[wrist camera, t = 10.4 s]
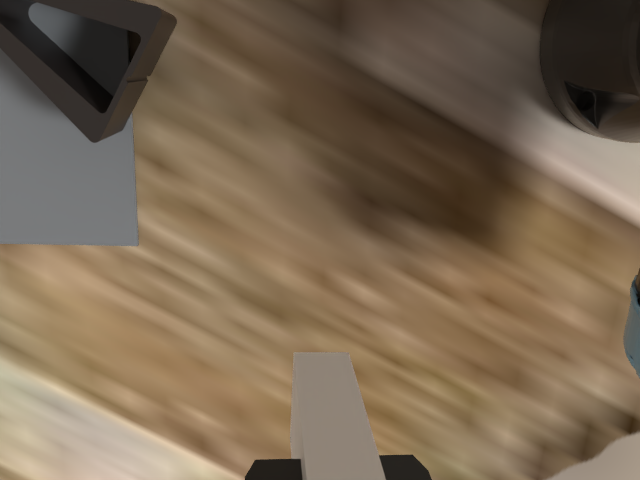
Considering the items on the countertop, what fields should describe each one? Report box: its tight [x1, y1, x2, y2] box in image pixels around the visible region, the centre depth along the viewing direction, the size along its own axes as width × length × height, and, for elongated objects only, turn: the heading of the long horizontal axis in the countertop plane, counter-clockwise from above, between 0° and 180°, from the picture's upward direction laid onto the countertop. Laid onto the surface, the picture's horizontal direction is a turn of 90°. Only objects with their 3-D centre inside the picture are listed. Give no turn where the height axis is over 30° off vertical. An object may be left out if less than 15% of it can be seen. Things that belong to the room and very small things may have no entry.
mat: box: [0, 3, 139, 246], centre depth 38 cm, size 12×22×1 cm, turn 177°
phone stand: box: [0, 0, 177, 143], centre depth 34 cm, size 9×6×12 cm
